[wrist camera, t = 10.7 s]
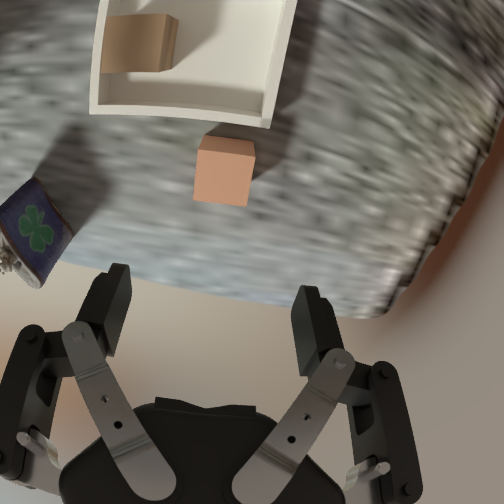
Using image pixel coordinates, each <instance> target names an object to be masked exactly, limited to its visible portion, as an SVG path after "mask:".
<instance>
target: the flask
mask: <svg viewBox="0 0 504 504" xmlns="http://www.w3.org/2000/svg"><path fill="white" fill-rule="evenodd" d="M72 237H73V233H72V230H71V228H70V226H69V224H68V223H66V222H65V220H64V218H63V217H62V215H61V212H60V211H59V209H58V208H57V206H56V205H54V204H53V203H52V202H51V198H50V197H49V196H48V195H47V192H46V189H45V188H44V186H43V184H42V182H41V180H39V179H37V178H35V177H34V178H32V179H30V180H28V181H27V182H26V183H25V184H23V185H22V186H21V187H20V188H19V189H18V190H17V191H16V192H15V193H14V194H12V195H11V196H10V197H9V198H8V199H7V200H6V201H5V202H4V203H3V204H2V205H1V206H0V259H1V260H2V263H0V267H1V268H2V269H3V271H4V272H7V271H10V272H11V271H12V268H13V269H14V270H15V272H17V274H18V275H20V276H21V278H22V279H23V280H24V281H25V282H26V283H27V284H28V285H29V286H31V287H32V288H35V289H37V288H41V287H42V286H43V284H44V283H45V281H46V279H47V277H48V275H49V273H50V272H51V270H52V268H53V267H54V265H55V263H56V262H57V260H58V259H59V258H60V256H61V254H62V253H63V251H64V250H65V248H66V247H67V246H68V244H69V243H70V242H71V240H72ZM0 272H1V269H0ZM4 272H2V274H4Z"/></svg>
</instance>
